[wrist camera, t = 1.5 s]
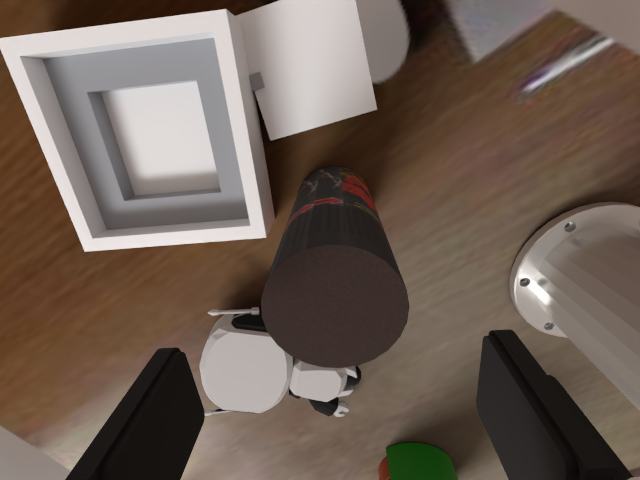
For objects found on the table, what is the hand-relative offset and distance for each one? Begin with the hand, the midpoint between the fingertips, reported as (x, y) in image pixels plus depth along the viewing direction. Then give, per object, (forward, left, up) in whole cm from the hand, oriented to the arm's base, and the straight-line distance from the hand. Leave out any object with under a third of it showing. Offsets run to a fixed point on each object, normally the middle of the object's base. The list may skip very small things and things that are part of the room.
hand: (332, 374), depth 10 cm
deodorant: (0, 0, -18) cm, 18 cm away
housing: (+12, -6, -18) cm, 23 cm away
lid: (+1, -10, -18) cm, 21 cm away
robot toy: (+6, +15, -19) cm, 24 cm away
